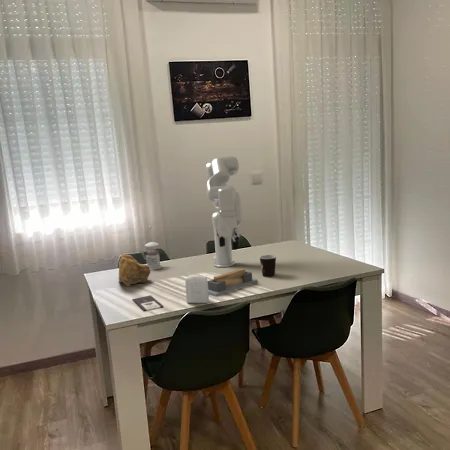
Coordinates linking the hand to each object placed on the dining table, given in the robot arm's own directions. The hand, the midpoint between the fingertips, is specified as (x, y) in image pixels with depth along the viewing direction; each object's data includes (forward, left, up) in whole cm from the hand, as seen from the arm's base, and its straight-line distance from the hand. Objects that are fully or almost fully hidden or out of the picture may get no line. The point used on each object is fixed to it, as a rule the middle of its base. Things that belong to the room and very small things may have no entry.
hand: (229, 247), depth 225 cm
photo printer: (+6, -26, -19) cm, 33 cm away
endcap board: (+2, -2, -19) cm, 19 cm away
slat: (+2, -2, -18) cm, 18 cm away
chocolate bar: (-11, -42, -20) cm, 48 cm away
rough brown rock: (-46, -27, -19) cm, 57 cm away
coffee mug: (+3, +25, -19) cm, 32 cm away
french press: (-64, -4, -19) cm, 67 cm away
